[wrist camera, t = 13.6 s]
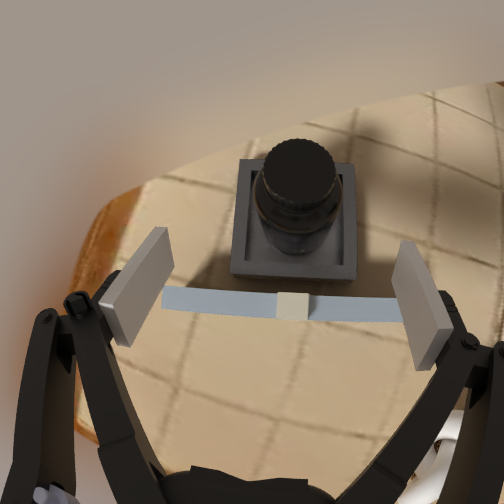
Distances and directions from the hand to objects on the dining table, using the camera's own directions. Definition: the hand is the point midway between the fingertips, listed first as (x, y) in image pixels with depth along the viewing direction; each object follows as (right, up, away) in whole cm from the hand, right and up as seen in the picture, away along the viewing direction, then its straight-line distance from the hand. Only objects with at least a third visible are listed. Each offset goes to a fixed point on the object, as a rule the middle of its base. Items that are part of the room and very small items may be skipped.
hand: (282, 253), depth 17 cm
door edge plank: (+2, -5, +13) cm, 14 cm away
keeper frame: (+3, +3, +14) cm, 15 cm away
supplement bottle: (+3, +3, +14) cm, 15 cm away
